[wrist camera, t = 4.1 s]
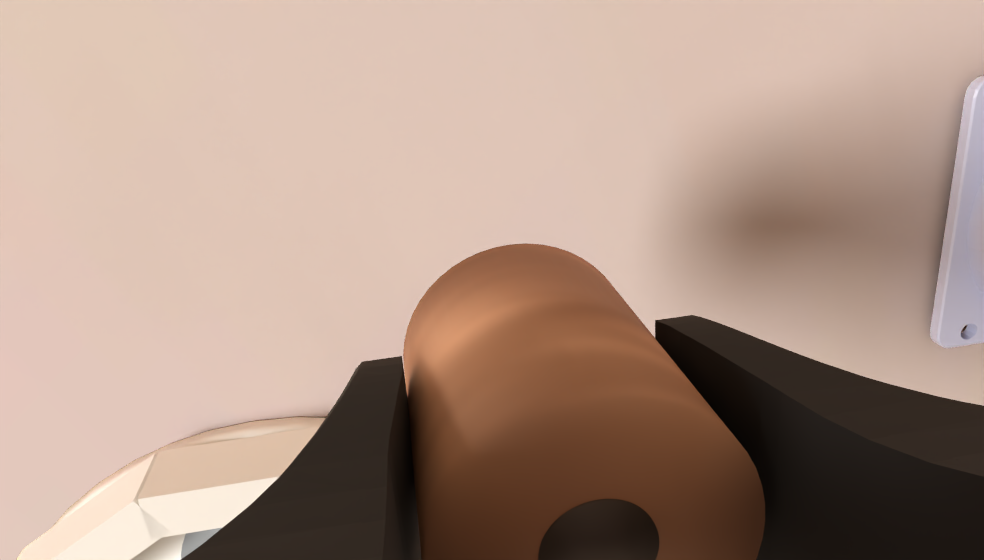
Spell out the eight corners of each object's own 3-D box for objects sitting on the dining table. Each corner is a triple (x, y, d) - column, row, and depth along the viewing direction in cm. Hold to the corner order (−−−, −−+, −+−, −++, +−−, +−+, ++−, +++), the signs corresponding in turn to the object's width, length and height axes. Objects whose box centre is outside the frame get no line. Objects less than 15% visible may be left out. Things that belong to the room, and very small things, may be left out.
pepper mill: (627, 230, 13) (777, 372, 8) (629, 431, 14) (758, 651, 9) (389, 260, 12) (401, 428, 8) (417, 464, 14) (443, 712, 9)
